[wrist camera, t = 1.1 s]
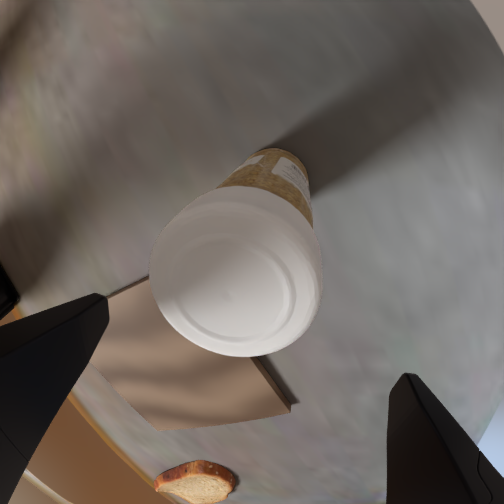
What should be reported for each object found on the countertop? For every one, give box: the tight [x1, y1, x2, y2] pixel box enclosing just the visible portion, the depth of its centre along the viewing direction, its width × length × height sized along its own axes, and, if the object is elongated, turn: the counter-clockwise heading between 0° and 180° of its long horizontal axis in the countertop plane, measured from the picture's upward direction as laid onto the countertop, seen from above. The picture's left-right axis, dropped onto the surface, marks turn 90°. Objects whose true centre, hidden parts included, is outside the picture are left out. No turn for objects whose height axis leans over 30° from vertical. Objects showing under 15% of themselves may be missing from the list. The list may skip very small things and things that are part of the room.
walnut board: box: [90, 276, 291, 431], centre depth 28 cm, size 18×18×1 cm
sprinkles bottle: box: [149, 148, 323, 357], centre depth 13 cm, size 5×5×13 cm
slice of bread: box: [154, 460, 236, 504], centre depth 40 cm, size 18×18×4 cm
